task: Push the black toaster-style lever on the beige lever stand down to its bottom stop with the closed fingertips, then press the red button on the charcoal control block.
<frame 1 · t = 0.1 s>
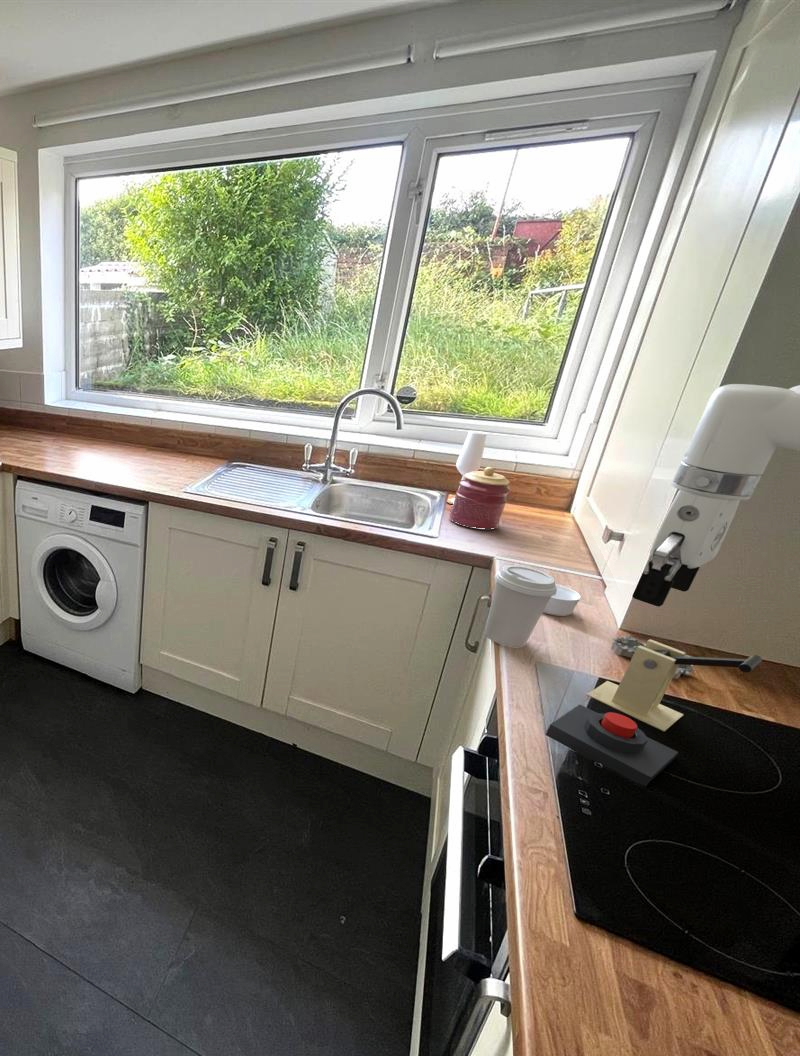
hand: (659, 594, 84), 23 cm above the countertop, tool pointing down, fingers open, 9 cm apart
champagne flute: (456, 504, 194), on the countertop
ramekin: (548, 608, 127), on the countertop
button block: (606, 749, 86), on the countertop
coffee cup: (502, 643, 113), on the countertop
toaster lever: (697, 661, 87), point 12 cm above the countertop, hinge at 28.0°
kitchen canister: (472, 523, 176), on the countertop
beige lever stand: (631, 710, 95), on the countertop
egg carton: (645, 667, 107), on the countertop
cancel button: (618, 725, 85), point 5 cm above the countertop, slide at 0.2 cm
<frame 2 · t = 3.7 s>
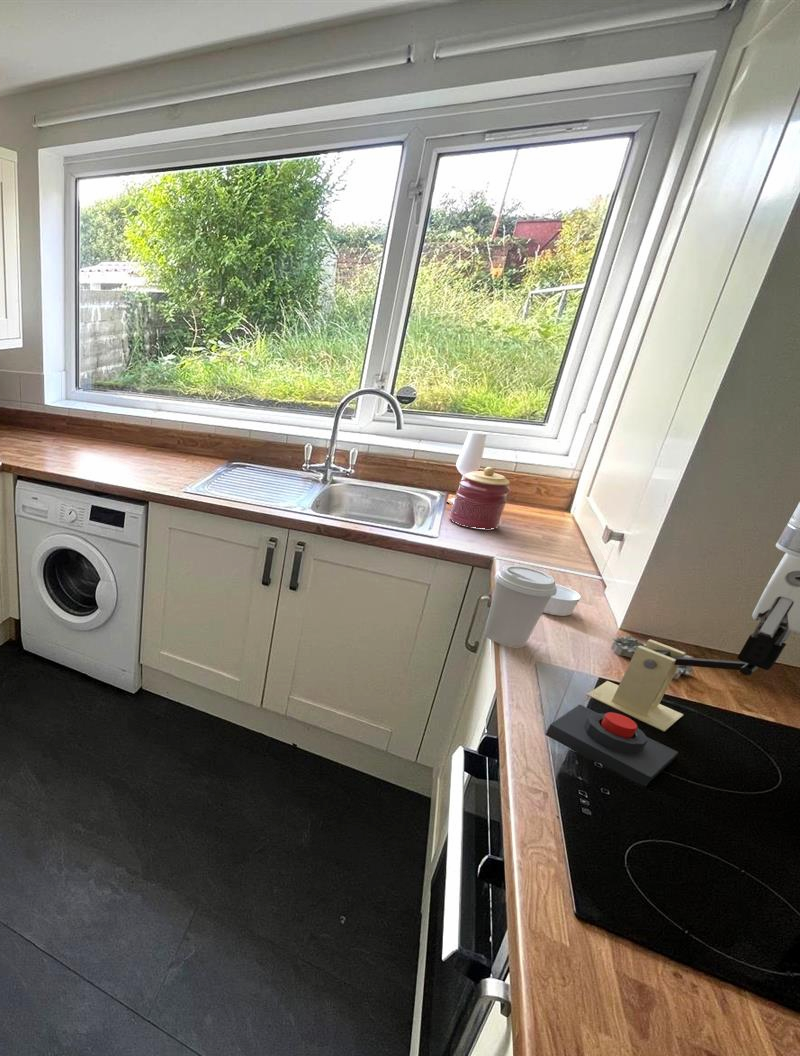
hand: (754, 663, 82), 15 cm above the countertop, tool pointing down, fingers closed
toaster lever: (697, 662, 87), point 12 cm above the countertop, hinge at 25.5°, touching gripper
everything else where it was.
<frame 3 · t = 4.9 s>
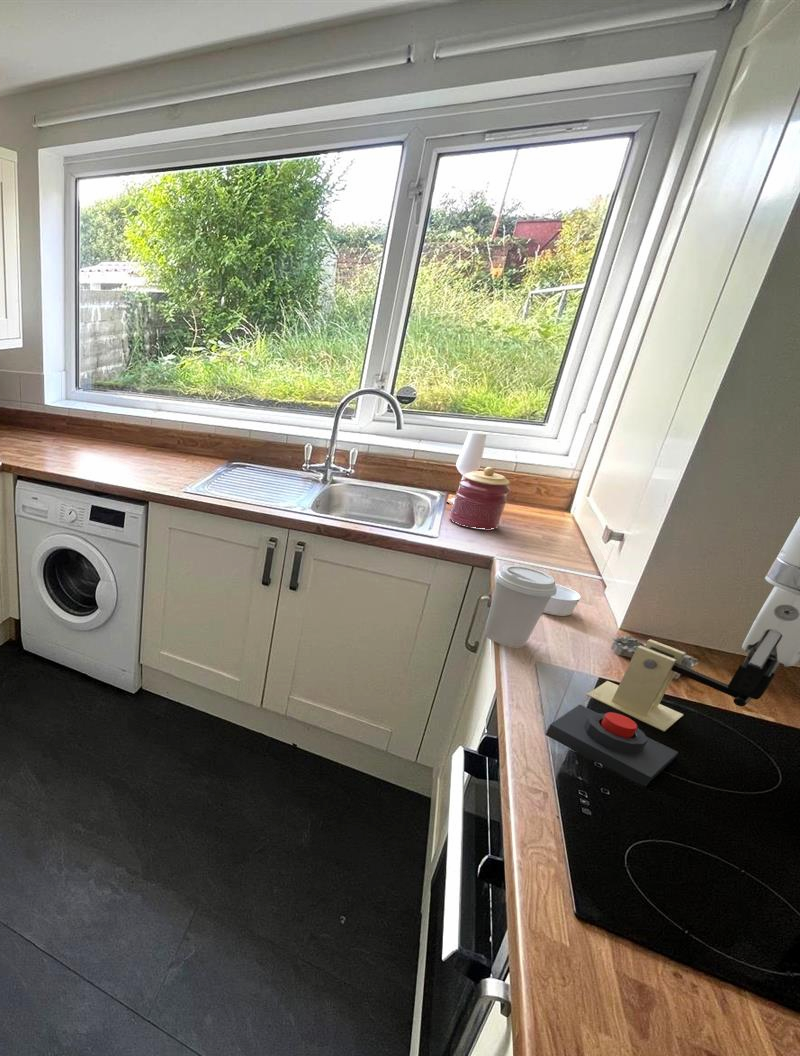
hand: (743, 692, 83), 10 cm above the countertop, tool pointing down, fingers closed
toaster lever: (695, 675, 88), point 10 cm above the countertop, hinge at -2.0°, touching gripper
everything else where it was.
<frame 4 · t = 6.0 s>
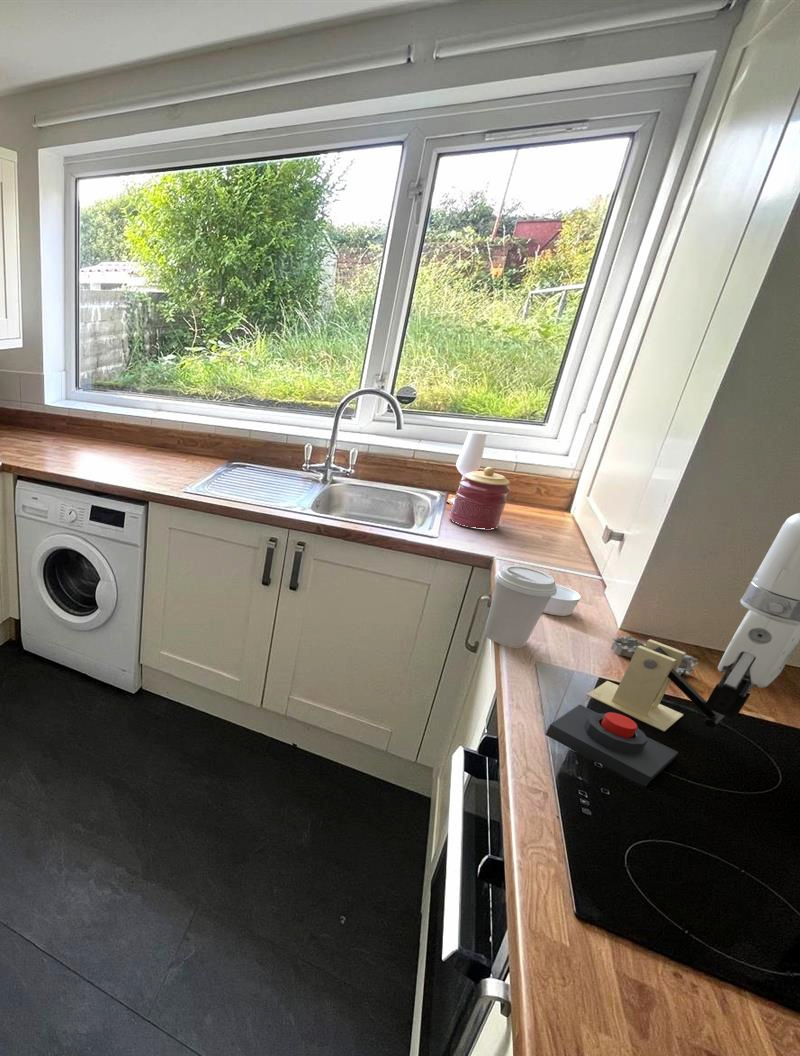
hand: (720, 711, 86), 6 cm above the countertop, tool pointing down, fingers closed
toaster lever: (683, 685, 89), point 8 cm above the countertop, hinge at -31.3°, touching gripper
everything else where it was.
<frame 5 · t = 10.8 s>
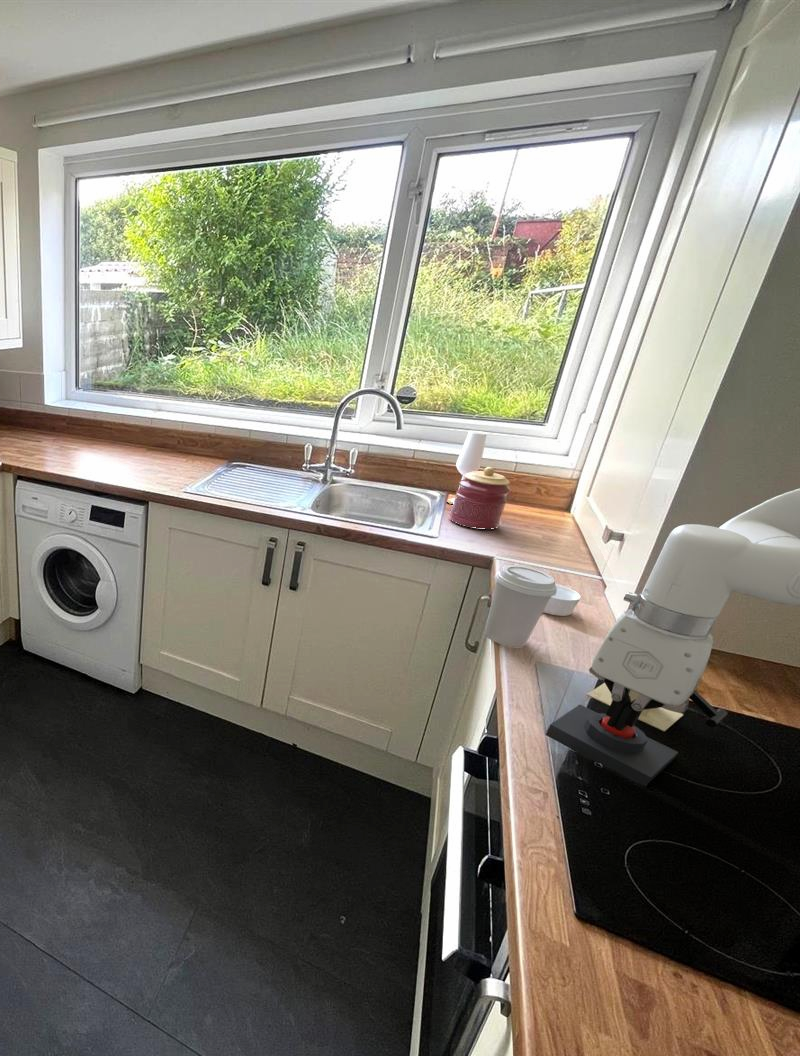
hand: (617, 724, 85), 5 cm above the countertop, tool pointing down, fingers closed
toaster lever: (683, 685, 89), point 8 cm above the countertop, hinge at -30.8°
cancel button: (616, 729, 85), point 4 cm above the countertop, slide at -0.7 cm, touching gripper
everything else where it was.
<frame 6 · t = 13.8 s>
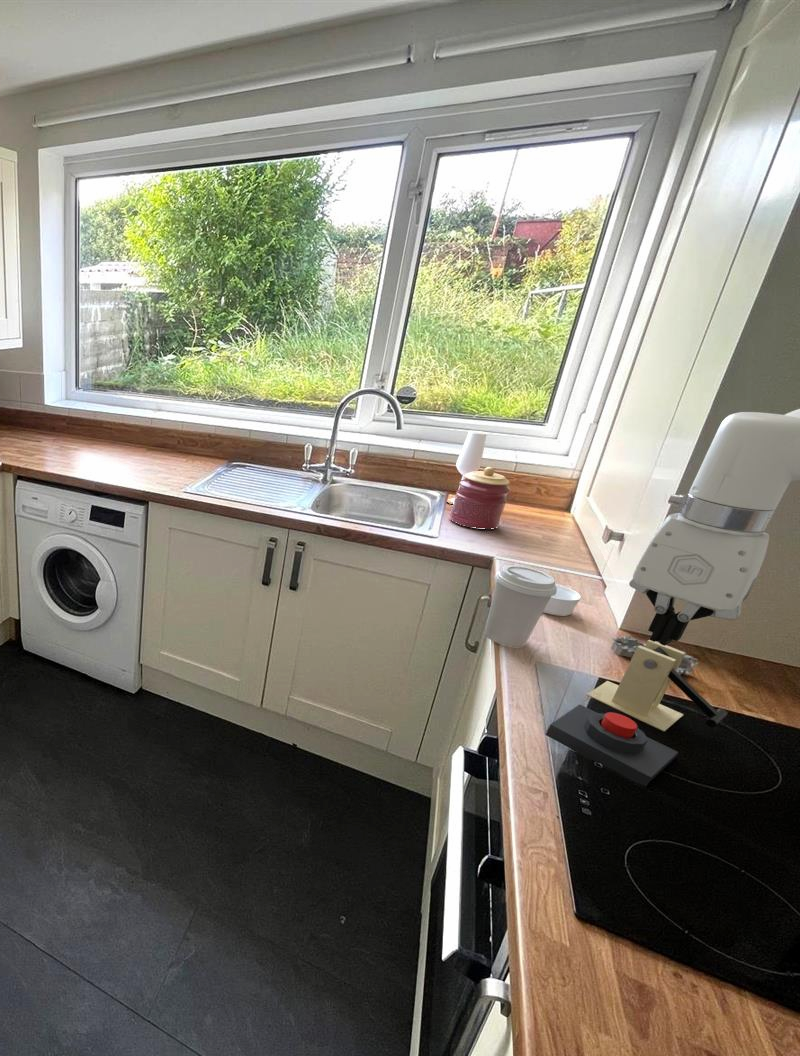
hand: (661, 640, 79), 19 cm above the countertop, tool pointing down, fingers closed
cancel button: (618, 725, 85), point 5 cm above the countertop, slide at 0.2 cm
everything else where it was.
at the end: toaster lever at -31° (first picture: +28°); cancel button pushed in 0.9 cm at the most during the clip, back to 0.2 cm at the end; cancel button slide at 0.2 cm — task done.
